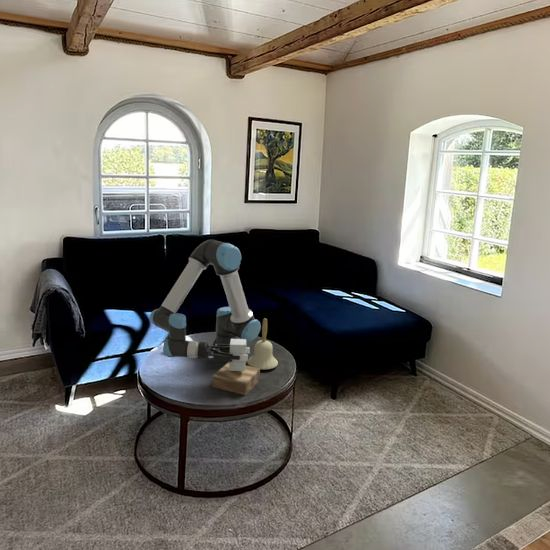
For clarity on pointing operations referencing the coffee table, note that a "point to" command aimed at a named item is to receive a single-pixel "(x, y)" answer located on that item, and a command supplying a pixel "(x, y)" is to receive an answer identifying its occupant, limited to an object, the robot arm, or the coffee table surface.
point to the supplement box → (237, 348)
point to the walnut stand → (236, 379)
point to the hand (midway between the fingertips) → (248, 354)
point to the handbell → (263, 352)
